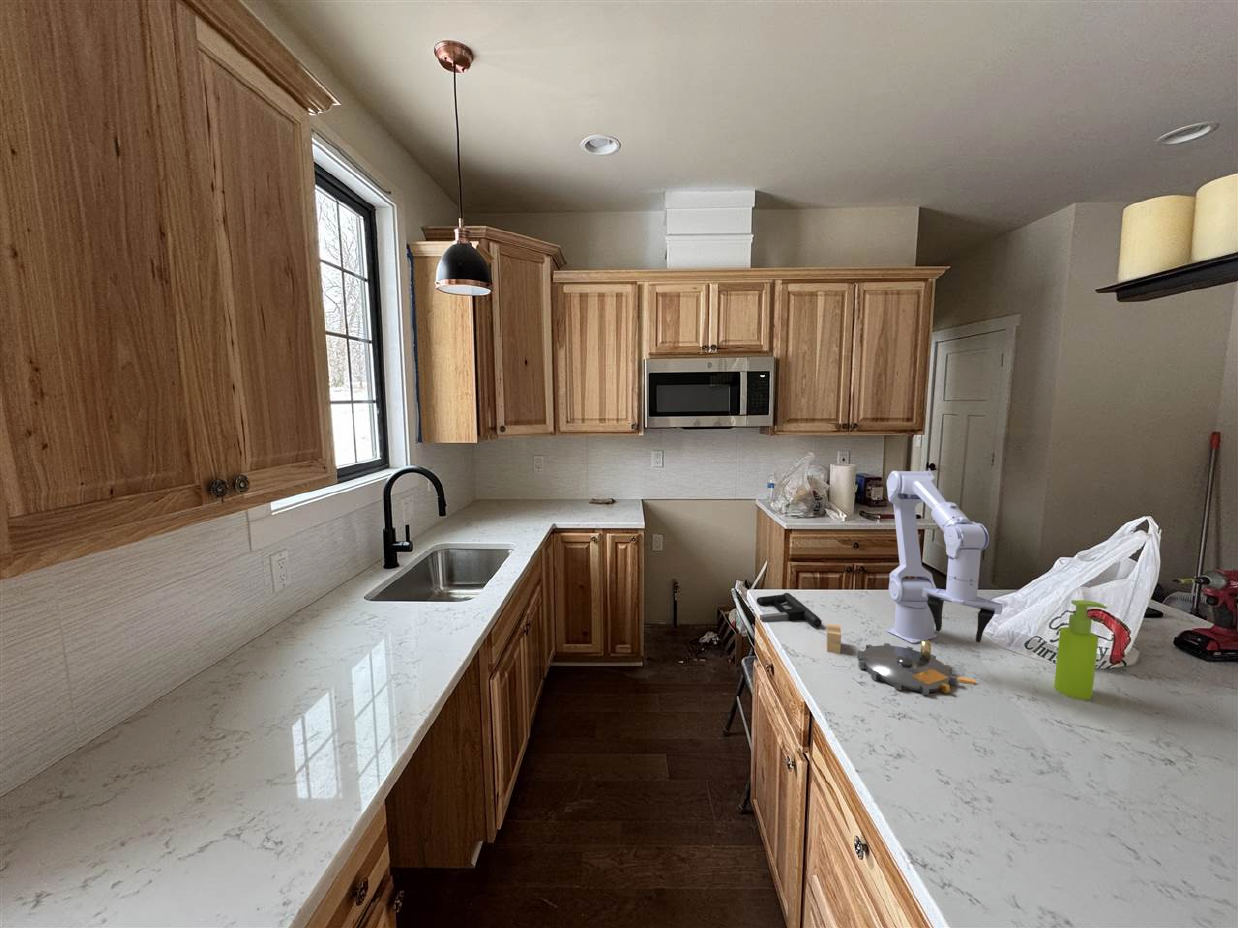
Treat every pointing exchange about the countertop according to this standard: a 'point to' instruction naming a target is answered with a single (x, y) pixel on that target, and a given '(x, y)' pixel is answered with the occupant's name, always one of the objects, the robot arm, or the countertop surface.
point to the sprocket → (907, 667)
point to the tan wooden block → (833, 638)
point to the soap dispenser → (1077, 654)
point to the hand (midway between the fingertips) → (958, 635)
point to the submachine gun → (788, 610)
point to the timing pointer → (966, 680)
